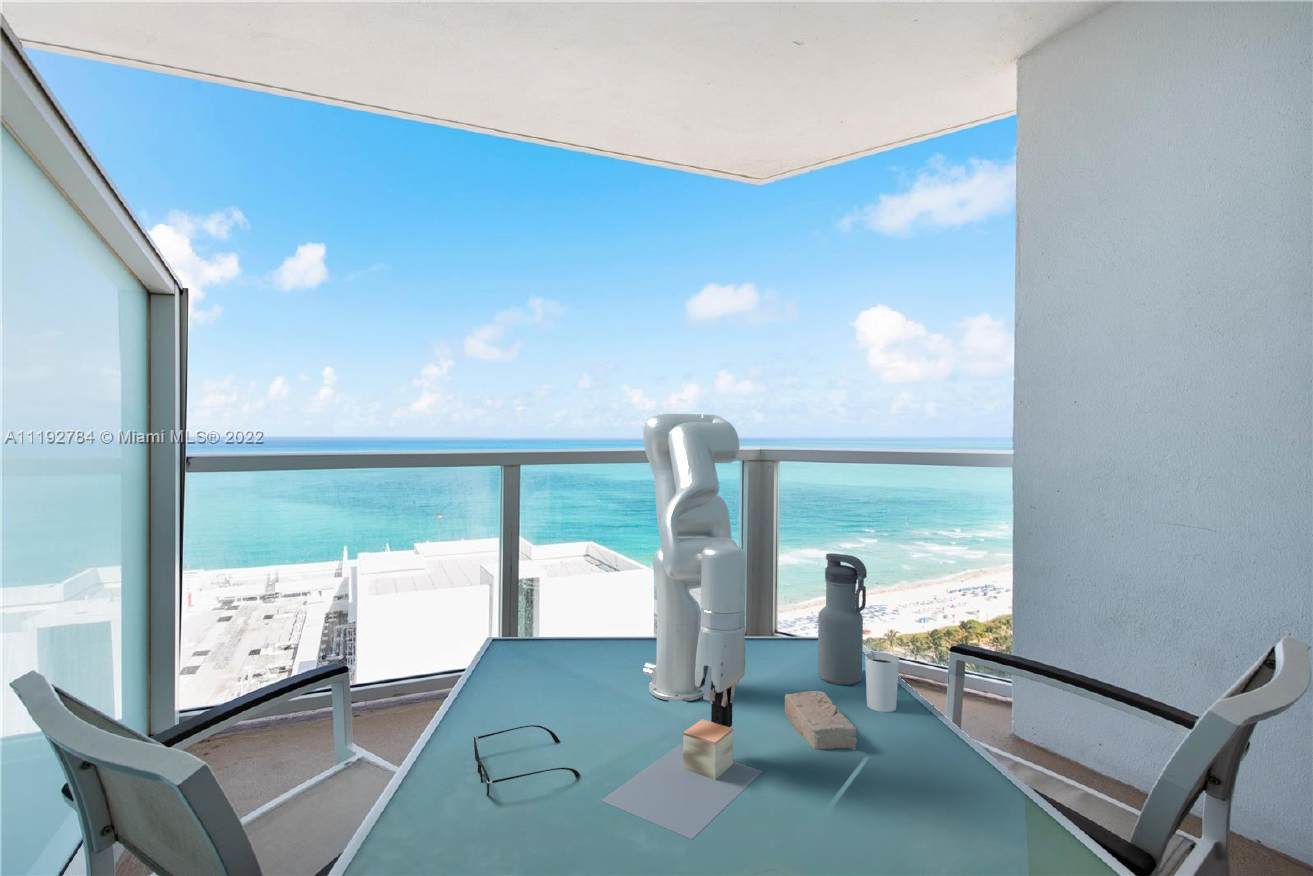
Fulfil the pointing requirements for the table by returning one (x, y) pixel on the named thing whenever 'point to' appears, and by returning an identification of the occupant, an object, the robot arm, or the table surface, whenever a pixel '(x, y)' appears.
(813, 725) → the brick
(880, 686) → the white cup
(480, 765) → the eyeglasses
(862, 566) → the water bottle
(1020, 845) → the table surface
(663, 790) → the mat
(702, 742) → the cube
